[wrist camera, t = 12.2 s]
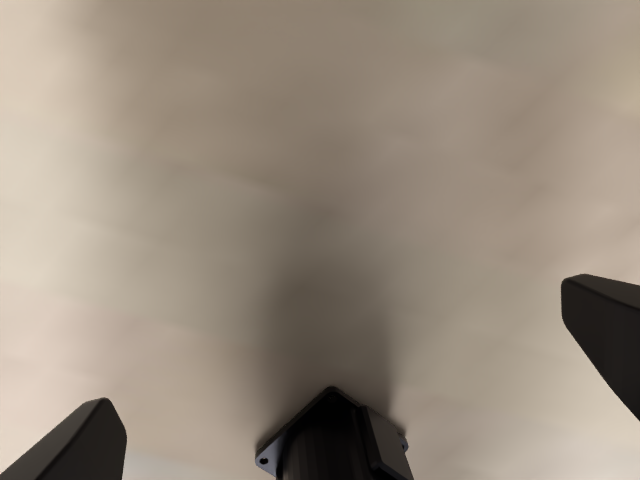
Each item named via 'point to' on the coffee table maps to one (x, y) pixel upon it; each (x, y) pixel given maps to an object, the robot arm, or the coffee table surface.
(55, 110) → the coffee table surface
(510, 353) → the coffee table surface
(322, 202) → the coffee table surface
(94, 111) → the coffee table surface
